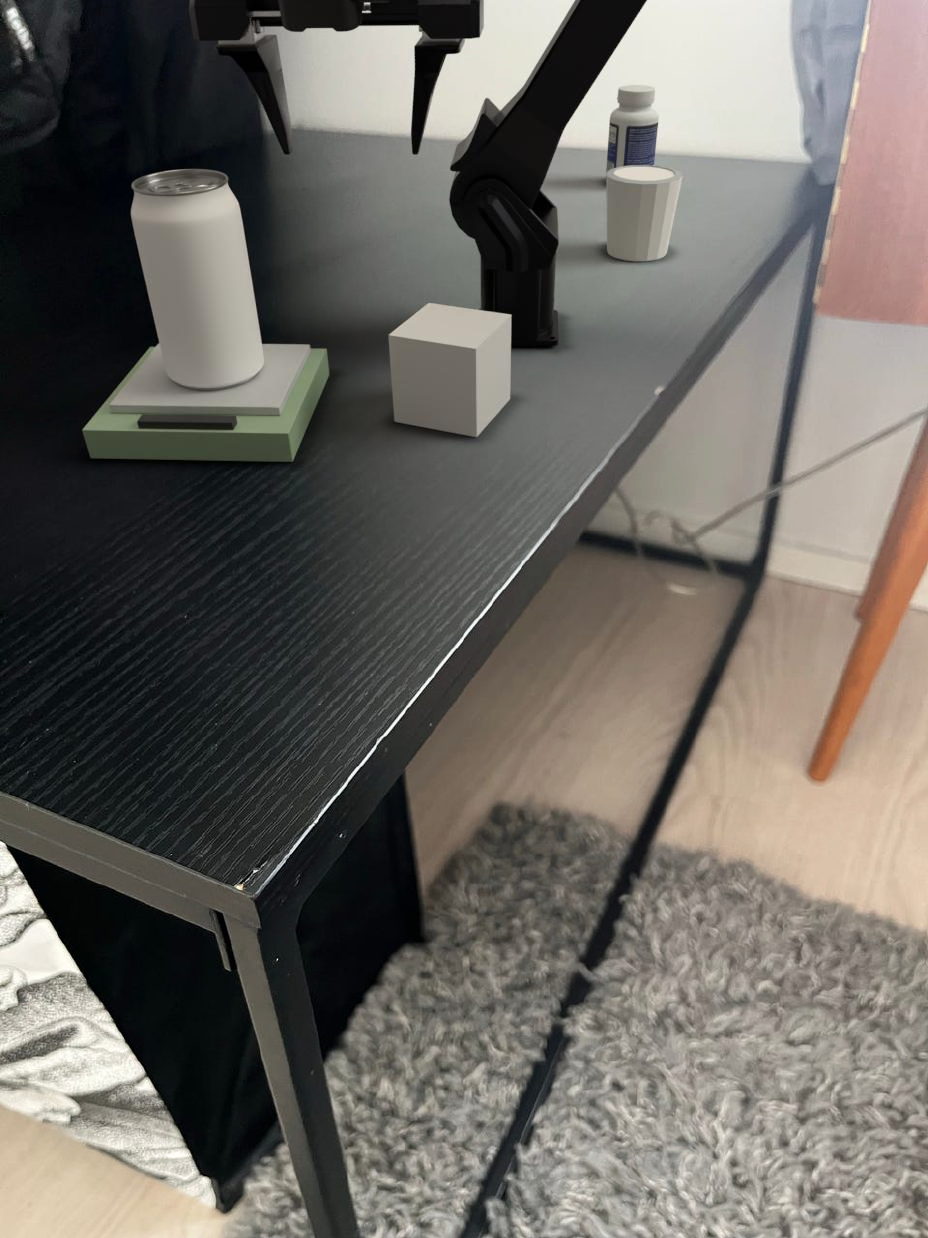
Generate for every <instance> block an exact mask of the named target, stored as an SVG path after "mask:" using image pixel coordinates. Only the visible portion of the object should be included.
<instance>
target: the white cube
mask: <svg viewBox="0 0 928 1238" xmlns="http://www.w3.org/2000/svg"><path fill="white" fill-rule="evenodd" d="M388 348H389V349H388V351H389V363H390V379H391V391H392V392H391V393H392V394H391V395H392V407H393V409H392V410H393V421H394V423H400V424H405V425H409V426H415V427H421V428H424V429H425V428H426V429H430V430H431V429H432V430H437V431H442V432H446V433H453V434H456V435H463V436H468V437H473V438H478V437H479V435H481V433H482V432H483V431H484V430H485V428H487V426H488V425H489V424H490V423H491V422H492V421H493V420H494V418H496V416H497V415H498V414H499V413H500V411H501V410H502V409H503V408H504V407H505V406H506V405H507V404H508V402H509V401H510V400H511V376H512V375H511V374H512V373H511V372H512V371H511V370H512V369H511V368H512V367H511V366H512V345H511V315H510V314H503V313H496V312H489V311H482V310H480V309H475V308H467V307H460V306H454V305H448V304H447V305H446V304H440V303H433V302H428V303H426V304H425V305H424V306H423V307H421V309H419V310H417V312H415V313H414V314H413V315H411V316H410V317H409V318H408V319H406V320H405V321H404V322H403V323H401V324H400V325H398V327H397V328H396V329H394V330H393V331H391V333H389V334H388Z"/></svg>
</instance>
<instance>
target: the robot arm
mask: <svg viewBox="0 0 928 1238" xmlns="http://www.w3.org/2000/svg"><path fill="white" fill-rule="evenodd" d="M647 1H648V0H574V1H573V3H572V4H571V6H570V8H569V10H568V11H567V13H566V14H565V16H564V17H563V19H562V21H561V23H560V25H559V26H558V27H557V30H556V31H555V33H554V34H553V36H552V37H551V40H550V41H549V43H548V44H547V46H546V48H545V50H544V51H543V52H542V54H541V56H540V57H539V59H538V60H537V62H536V64H535V66H534V68H533V70H532V71H531V73H530V74H529V76H528V77H527V79H526V81H525V82H524V84H523V86H522V87H521V88H520V89H519V90H518V91H517V92H516V94H515V95H514V96H513V97H512V98H511V99H510V100H509V101H508V102H507V103H505V105H504V106H503V107H502V108H501V109H499V108H498V106H497V105H496V104H494V102H493V101H492V100H491V99H490V98H489V97H485V98H484V100H483V102H482V105H481V107H480V111H479V113H478V116H477V118H476V121H475V123H474V125H473V127H472V129H471V131H470V132H469V133H468V135H467V136H466V137H465V138H464V139H463V140H461V141H460V142H459V143H457V145H456V147H455V150H454V154H453V157H452V160H451V163H450V167H449V170H450V171H451V172H454V177H453V180H452V183H451V188H450V191H449V198H448V201H449V207H450V212H451V216H452V218H453V221H454V222H455V223H456V225H457V227H458V229H460V230H461V231H462V232H463V233H464V234H465V235H466V236H467V237H469V238H471V239H473V240H474V242H475V244H476V247H477V250H478V253H479V256H480V262H479V263H480V309H479V310H482V311H489V312H496V313H503V314H510V315H511V346H519V347H520V346H521V347H523V346H529V347H531V346H535V347H546V346H547V347H555V346H557V345H559V338H560V337H559V313H558V310H556V309H555V289H556V288H555V287H556V265H557V250H558V248H559V237H560V236H559V215H558V207H557V206H556V205H555V204H554V202H553V201H552V200H551V199H550V198H549V197H548V196H547V195H546V194H545V192H543V191H542V190H541V189H542V187H543V184H544V182H545V180H546V178H547V175H548V172H549V169H550V167H551V164H552V161H553V158H554V156H555V153H556V151H557V149H558V145H559V143H560V140H561V138H562V135H563V133H564V131H565V129H566V126H567V125H568V124H569V123H570V121H571V119H572V118H573V116H574V114H575V113H576V111H577V109H578V108H579V107H580V105H581V103H582V102H583V100H584V99H585V97H586V95H587V94H588V93H589V91H590V89H591V88H592V86H593V85H594V83H595V82H596V80H597V79H598V77H599V76H600V74H601V72H602V71H603V70H604V67H606V65H607V63H608V62H609V60H610V58H611V57H612V55H613V54H614V52H615V51H616V49H617V48H618V47H619V45H620V43H621V42H622V40H623V38H624V37H625V36H626V34H627V32H628V31H629V29H630V28H631V26H632V25H633V23H634V21H635V20H636V19H637V17H638V15H639V14H640V12H641V10H642V9H643V8H644V6H645V5H646V3H647ZM188 5H189V7H188V12H189V13H188V14H189V18H190V25H191V31H192V38H193V40H194V41H199V42H205V41H207V42H208V41H209V42H212V41H214V42H215V41H218V44H216V45H215V46H214V49H215V51H216V53H217V55H218V56H226V57H231V59H232V60H233V61H234V62H235V64H236V65H238V67H239V68H240V69H241V70H242V71H243V72H244V74H245V75H246V77H247V79H248V81H249V83H250V84H251V86H252V88H253V89H254V91H255V93H256V95H257V97H258V99H259V101H260V103H261V105H262V107H263V110H264V112H265V115H266V117H267V119H268V121H269V123H270V125H271V128H272V131H273V132H274V134H275V137H276V138H277V141H278V145H280V148H281V150H282V153H283V154H284V155H287V156H289V155H291V154H292V153H293V134H292V122H291V116H290V111H289V104H288V97H287V91H286V85H285V79H284V73H283V66H282V65H283V64H282V59H281V54H280V47H279V41H278V35H277V34H267V33H266V31H267V30H268V28H273V27H274V28H275V27H276V28H280V27H281V28H284V29H285V30H287V31H289V32H291V33H292V32H293V33H303V32H305V31H306V30H307V29H333V31H335V32H337V33H338V32H339V33H340V32H341V33H342V32H351V31H354V30H356V29H357V28H359V27H389V26H390V27H391V26H392V27H393V26H395V27H399V26H400V27H401V26H408V27H409V26H412V27H413V26H418V32H419V33H421V37H420V38H419V39H418V40H417V42H416V43H415V45H414V46H413V48H414V50H413V53H414V55H413V56H414V74H413V75H414V77H413V90H412V91H413V93H412V108H411V109H412V110H411V122H410V123H411V125H410V139H411V153H412V155H414V156H417V155H419V152H420V150H421V145H422V141H423V137H424V133H425V129H426V125H427V121H428V117H429V113H430V108H431V105H432V101H433V97H434V92H435V89H436V86H437V84H438V83H437V82H438V79H439V77H440V74H441V71H442V69H443V66H444V64H445V60H446V58H447V55H457V54H459V53H461V51H462V49H463V47H464V45H465V42H466V40H470V39H471V40H472V39H479V38H481V36H482V33H483V31H484V28H485V15H484V14H485V0H189V4H188ZM367 11H368V12H367Z"/></svg>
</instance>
